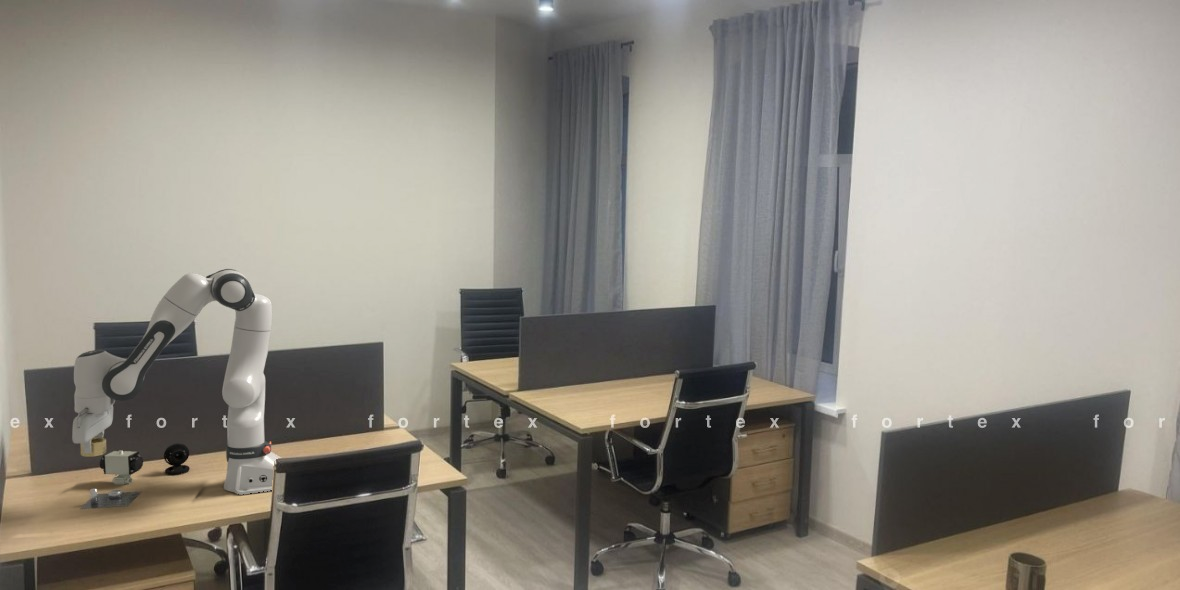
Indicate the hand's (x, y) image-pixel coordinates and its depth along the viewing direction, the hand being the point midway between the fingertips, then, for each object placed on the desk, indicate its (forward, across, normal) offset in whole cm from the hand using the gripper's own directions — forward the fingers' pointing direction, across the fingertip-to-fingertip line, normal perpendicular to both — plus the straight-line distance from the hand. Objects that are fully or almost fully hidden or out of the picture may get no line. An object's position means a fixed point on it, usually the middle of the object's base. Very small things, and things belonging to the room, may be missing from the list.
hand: (93, 449), depth 227 cm
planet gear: (+1, 0, 0) cm, 1 cm away
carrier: (+18, +2, -4) cm, 19 cm away
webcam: (+18, +29, -15) cm, 37 cm away
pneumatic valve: (+18, +18, -2) cm, 26 cm away
